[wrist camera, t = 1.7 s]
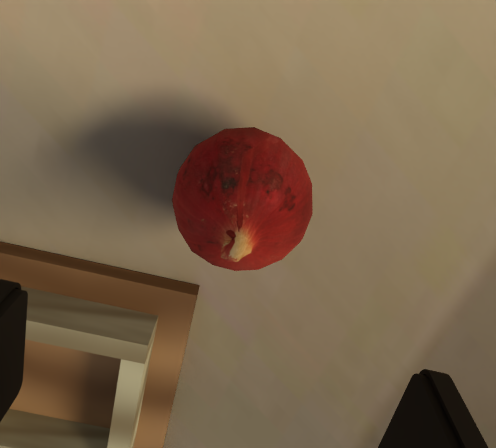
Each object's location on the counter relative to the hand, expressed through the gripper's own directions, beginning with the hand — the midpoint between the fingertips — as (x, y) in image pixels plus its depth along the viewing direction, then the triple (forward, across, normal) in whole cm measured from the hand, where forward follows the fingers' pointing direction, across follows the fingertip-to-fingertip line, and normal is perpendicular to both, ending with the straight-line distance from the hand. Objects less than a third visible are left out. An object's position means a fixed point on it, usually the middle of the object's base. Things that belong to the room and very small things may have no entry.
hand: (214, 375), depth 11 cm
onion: (+14, 0, -1) cm, 14 cm away
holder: (+14, +8, +13) cm, 20 cm away
